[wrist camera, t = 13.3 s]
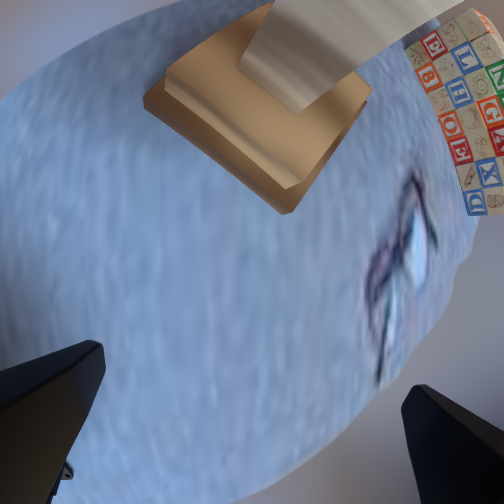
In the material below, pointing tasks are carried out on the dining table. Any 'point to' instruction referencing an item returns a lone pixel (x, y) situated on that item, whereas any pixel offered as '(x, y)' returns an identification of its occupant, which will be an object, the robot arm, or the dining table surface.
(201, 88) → the maple block
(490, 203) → the stack of blocks
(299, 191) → the wooden base plate
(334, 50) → the ash block
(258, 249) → the dining table surface
